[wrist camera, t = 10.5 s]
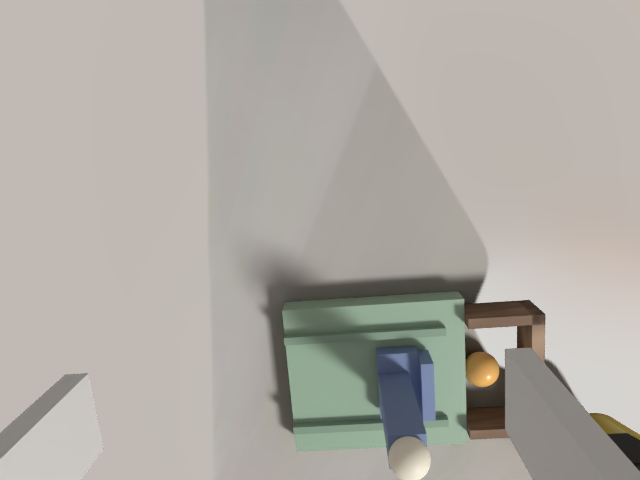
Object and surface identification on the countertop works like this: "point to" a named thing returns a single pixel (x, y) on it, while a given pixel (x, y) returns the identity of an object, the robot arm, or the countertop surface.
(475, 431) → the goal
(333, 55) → the countertop surface
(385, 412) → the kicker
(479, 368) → the ball
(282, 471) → the countertop surface
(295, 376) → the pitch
